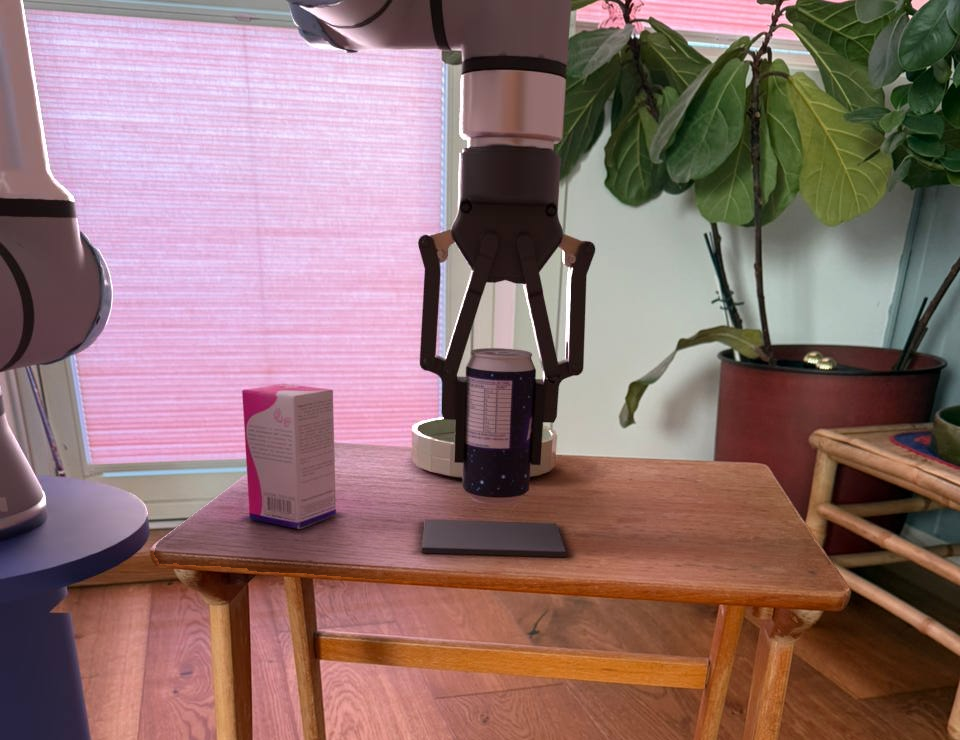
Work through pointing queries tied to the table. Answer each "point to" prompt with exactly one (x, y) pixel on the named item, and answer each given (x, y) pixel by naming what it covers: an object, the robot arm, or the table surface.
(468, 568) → the table surface
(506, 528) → the mat
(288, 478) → the supplement box
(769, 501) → the table surface
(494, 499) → the beverage can
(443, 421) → the bowl
